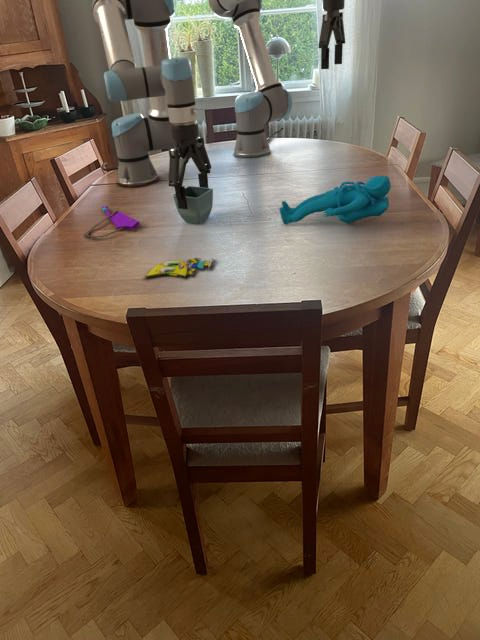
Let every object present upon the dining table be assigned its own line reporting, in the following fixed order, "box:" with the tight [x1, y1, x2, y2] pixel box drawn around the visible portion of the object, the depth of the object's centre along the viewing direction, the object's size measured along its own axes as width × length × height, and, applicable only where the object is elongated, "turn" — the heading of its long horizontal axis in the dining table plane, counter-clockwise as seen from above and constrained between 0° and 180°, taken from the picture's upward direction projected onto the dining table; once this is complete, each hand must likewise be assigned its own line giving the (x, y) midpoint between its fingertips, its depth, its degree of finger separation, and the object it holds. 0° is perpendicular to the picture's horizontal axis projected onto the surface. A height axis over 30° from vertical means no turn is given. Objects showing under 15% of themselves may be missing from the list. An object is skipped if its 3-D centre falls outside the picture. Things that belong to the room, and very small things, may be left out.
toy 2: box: [278, 175, 392, 225], centre depth 133 cm, size 17×11×30 cm
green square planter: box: [172, 185, 214, 225], centre depth 142 cm, size 9×9×9 cm
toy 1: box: [145, 257, 214, 279], centre depth 117 cm, size 10×1×15 cm
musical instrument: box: [85, 205, 141, 239], centre depth 147 cm, size 24×2×20 cm
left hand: (194, 201), depth 141 cm, fingers open, 11 cm apart
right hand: (331, 66), depth 175 cm, fingers open, 13 cm apart
